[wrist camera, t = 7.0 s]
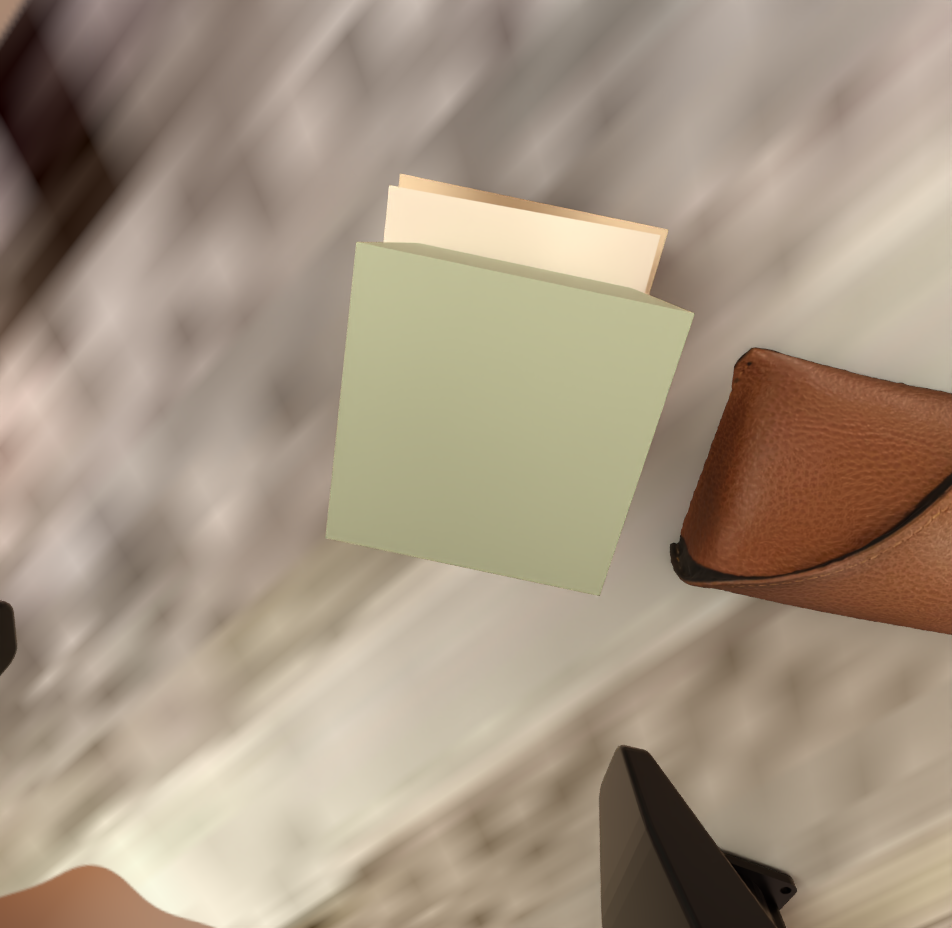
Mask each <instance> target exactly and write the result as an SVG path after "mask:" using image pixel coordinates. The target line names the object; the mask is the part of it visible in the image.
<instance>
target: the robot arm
mask: <svg viewBox="0 0 952 928" xmlns="http://www.w3.org/2000/svg"><path fill="white" fill-rule="evenodd" d="M16 651H17V637H16V628H15V619H14V611H13V608H12V606H11V605H10V604H9V603H7V602H5V601H1V600H0V676H1V675H2V673H3V672H4V671H5V670H6V669H7V668H8V666H9V665H10V664H11V662H12V660H13V659H14V657H15V654H16ZM599 820H600V871H601V912H602V928H786V926H785V924H784V921H783V919H782V916H781V914H780V911H779V910H780V909H781V908H782V907H783V906H784V905H785V904H786V903H787V902H788V901H789V900H790V899H791V898H792V897H793V896H794V895H795V893H796V892H797V888H796V886H795V883H794V881H793V879H792V878H791V877H790V876H788V875H785V874H783V873H780V872H777V871H774V870H771V869H768V868H765V867H762V866H760V865H757V864H754V863H751V862H748V861H745V860H742V859H739V858H736V857H734V856H731V855H728V854H725V853H722V851H721V850H720V849H719V847H718V846H717V845H716V843H715V842H714V841H713V839H712V838H711V836H710V835H709V834H708V832H707V831H706V830H705V828H704V827H703V825H702V824H701V823H700V821H699V820H698V819H697V817H696V816H695V814H694V813H693V812H692V810H691V809H690V808H689V806H688V805H687V804H686V802H685V801H684V799H683V798H682V797H681V795H680V794H679V793H678V791H677V790H676V788H675V787H674V786H673V784H672V783H671V782H670V780H669V779H668V777H667V776H666V775H665V773H664V772H663V771H662V769H661V768H660V766H659V765H658V764H657V762H656V761H655V760H654V758H653V757H652V756H651V754H650V753H648V752H647V751H646V750H644V749H639V748H635V747H631V746H627V745H620V746H618V748H617V749H616V750H615V752H614V755H613V757H612V760H611V762H610V764H609V767H608V769H607V772H606V774H605V776H604V779H603V781H602V784H601V788H600V795H599Z"/></svg>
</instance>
